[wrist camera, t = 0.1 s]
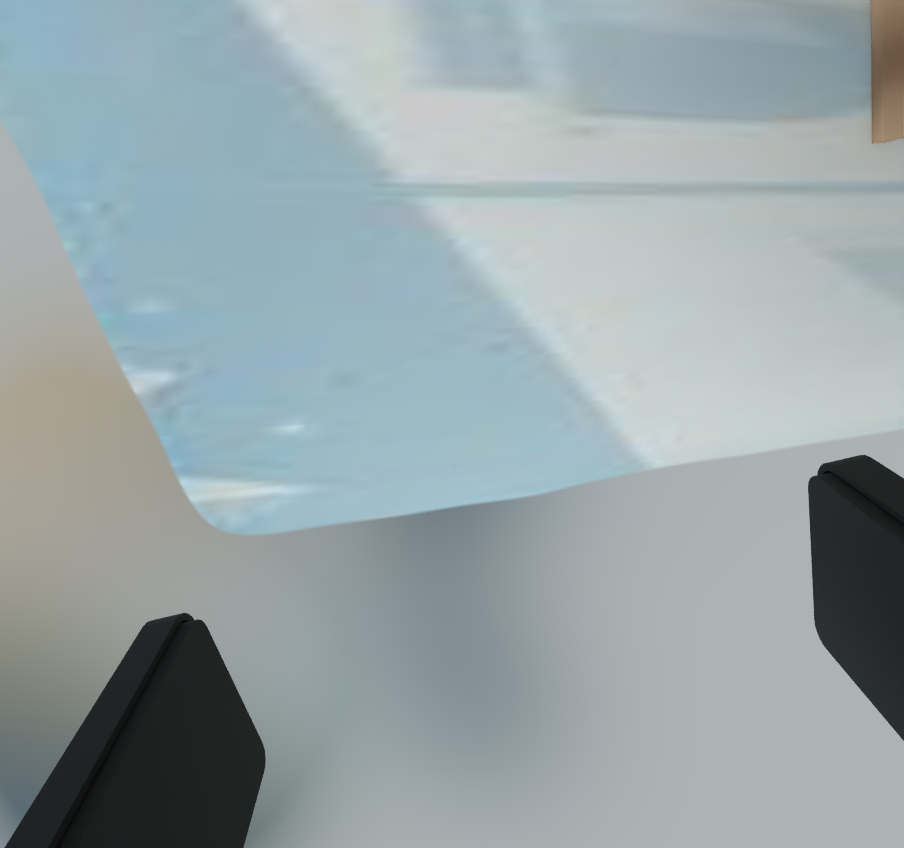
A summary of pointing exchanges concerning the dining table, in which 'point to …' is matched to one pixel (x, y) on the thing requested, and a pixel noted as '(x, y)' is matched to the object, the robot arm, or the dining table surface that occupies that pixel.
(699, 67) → the dining table surface
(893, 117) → the walnut stand
